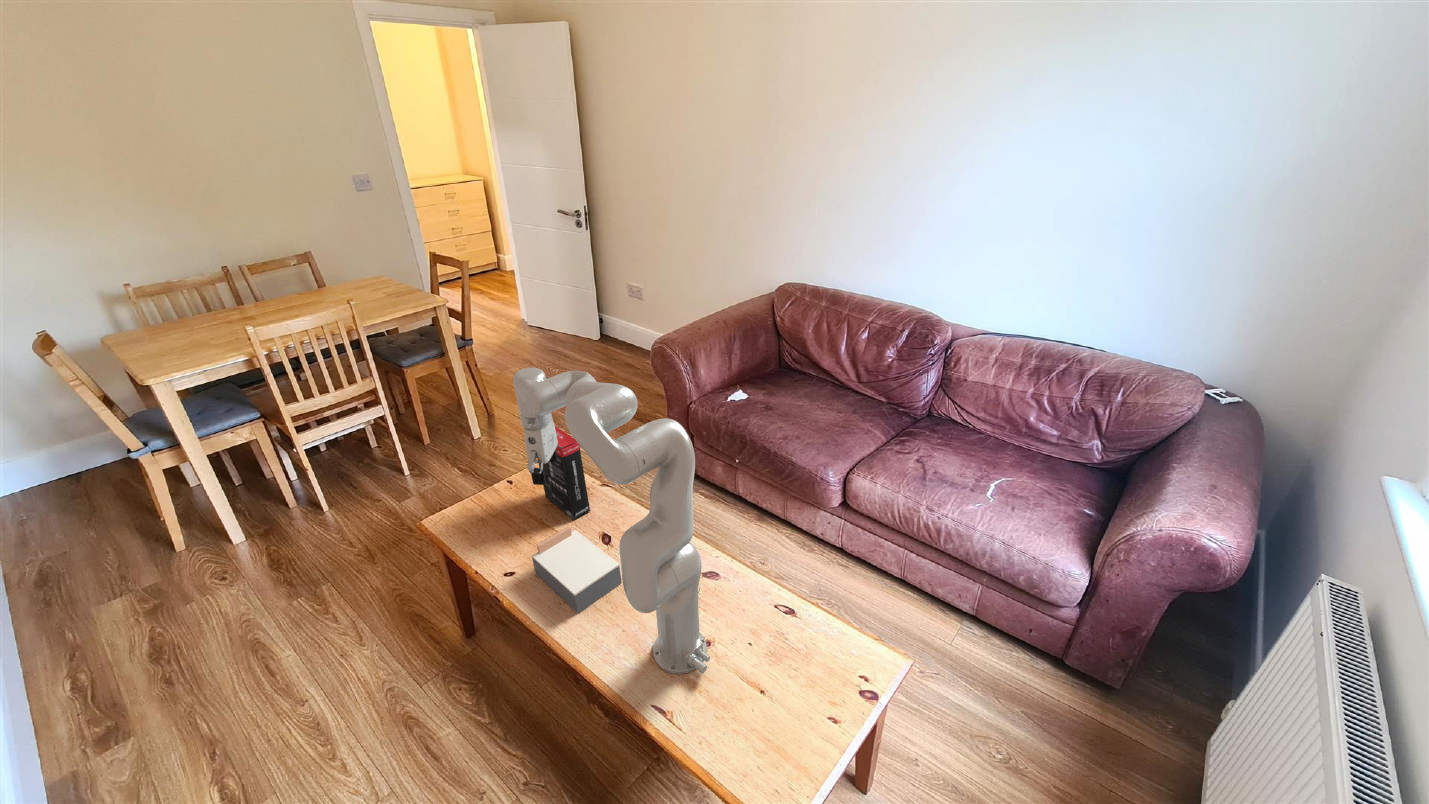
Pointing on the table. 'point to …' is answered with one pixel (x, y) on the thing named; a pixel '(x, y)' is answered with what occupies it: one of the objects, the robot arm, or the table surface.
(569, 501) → the graphics card box
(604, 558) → the lid
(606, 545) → the table surface
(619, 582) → the box
